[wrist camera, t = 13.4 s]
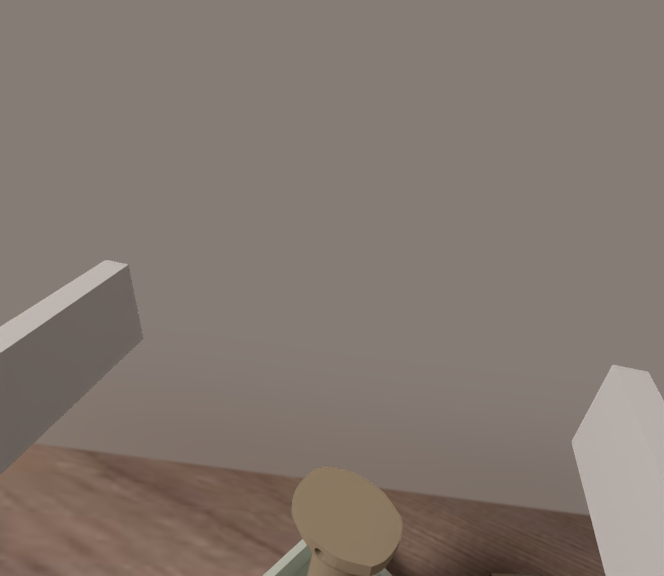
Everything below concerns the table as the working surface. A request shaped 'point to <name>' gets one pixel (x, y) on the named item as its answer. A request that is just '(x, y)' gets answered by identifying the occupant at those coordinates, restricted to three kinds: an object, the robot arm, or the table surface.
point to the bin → (299, 563)
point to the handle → (345, 523)
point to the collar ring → (499, 575)
